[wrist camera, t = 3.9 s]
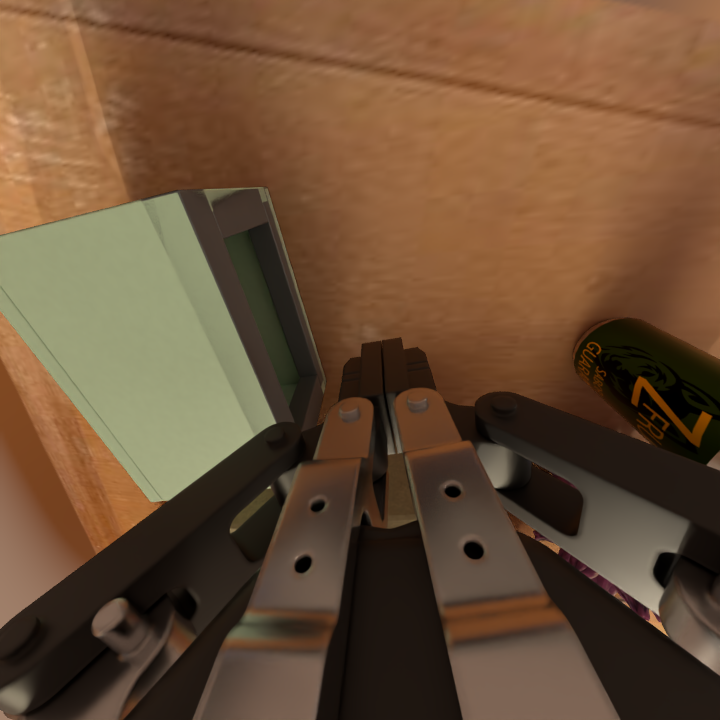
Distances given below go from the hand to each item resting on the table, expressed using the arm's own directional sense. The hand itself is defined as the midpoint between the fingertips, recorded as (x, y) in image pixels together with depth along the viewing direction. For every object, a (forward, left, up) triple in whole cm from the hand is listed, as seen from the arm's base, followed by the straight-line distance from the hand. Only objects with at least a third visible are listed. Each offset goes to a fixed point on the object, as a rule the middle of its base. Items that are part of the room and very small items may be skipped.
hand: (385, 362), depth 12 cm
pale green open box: (0, -10, -11) cm, 15 cm away
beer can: (+8, +15, -11) cm, 21 cm away
